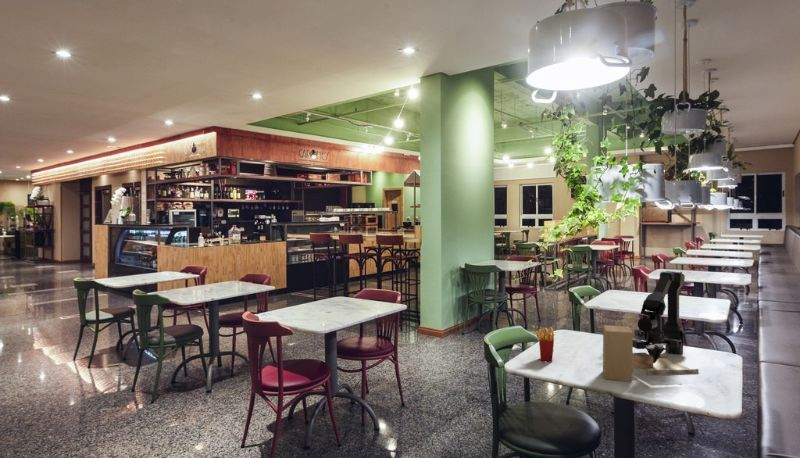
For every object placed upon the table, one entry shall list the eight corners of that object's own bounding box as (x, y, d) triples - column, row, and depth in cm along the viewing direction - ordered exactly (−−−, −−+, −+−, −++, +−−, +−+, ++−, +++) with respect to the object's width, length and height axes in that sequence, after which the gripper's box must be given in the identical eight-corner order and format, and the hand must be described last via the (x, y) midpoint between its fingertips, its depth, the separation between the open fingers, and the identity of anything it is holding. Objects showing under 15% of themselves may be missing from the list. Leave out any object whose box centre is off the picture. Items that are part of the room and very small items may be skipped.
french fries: (554, 363, 205) (554, 330, 205) (535, 361, 208) (535, 328, 207) (554, 357, 214) (554, 325, 213) (535, 355, 216) (535, 324, 216)
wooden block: (628, 373, 192) (629, 326, 191) (632, 382, 182) (632, 332, 181) (602, 371, 195) (603, 324, 194) (605, 379, 186) (605, 330, 185)
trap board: (666, 358, 209) (666, 354, 209) (698, 374, 189) (698, 369, 189) (620, 360, 208) (620, 355, 207) (647, 377, 188) (647, 371, 188)
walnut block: (644, 363, 201) (644, 352, 201) (653, 368, 195) (653, 356, 195) (631, 364, 201) (631, 353, 200) (639, 369, 195) (639, 357, 194)
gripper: (662, 321, 206) (661, 356, 207) (622, 323, 205) (622, 357, 205) (679, 328, 195) (678, 364, 196) (637, 330, 194) (637, 366, 194)
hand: (653, 362), depth 198 cm, fingers closed
